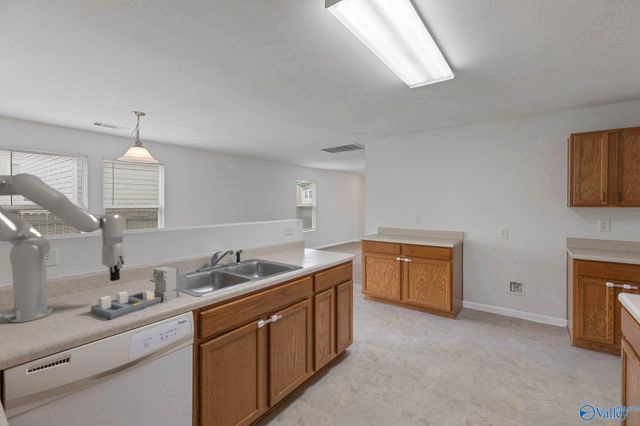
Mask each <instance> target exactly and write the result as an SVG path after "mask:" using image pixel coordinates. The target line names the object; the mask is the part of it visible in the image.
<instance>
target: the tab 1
mask: <svg viewBox="0 0 640 426" xmlns="http://www.w3.org/2000/svg"><path fill="white" fill-rule="evenodd" d="M111 301H112V297H111V296H110V295H103V296H100V297H98V298H97V304H98V307H100V308H103V309H107V308H110V307H111Z"/></svg>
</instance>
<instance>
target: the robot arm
mask: <svg viewBox="0 0 640 426" xmlns="http://www.w3.org/2000/svg"><path fill="white" fill-rule="evenodd" d="M4 196H11V197H12V196H22V197H23V198H25V199H26V200H28V201H30V202H31V203H33V204H35V205H37V206H39V207H40V208H43V209H44V210H46V211H47V212H49V213H50V214H51V215H54V216H55V217H57V218H59V219H60V220H61V221H63V222H64V223H66V224H67V225H69V226H71V227H73V228H75V229H77V231H80V232H82V233H93V232H96V231H98V230H101V240H102V246H101V247H102V248H101V264H102V266H106V268H108V272H109V277H110V278H109V280H110V281H111V282H115V281H118V280H120V279H121V277H120V276H121V275H120V271H121V269H123V265H124V264H125V253H124V252H125V251H124V247H123V244H124V239H123V236H124V235H123V223H122V222H123V221H122V216H121V215H120V214H119V213H107V214H93V213H92V214H91V213H89V212H88V211H85V210H84V209H82V208H81V207H79V206H78V205H76V204H75V203H74V202H72V201H71V200H70V199H69V198H68V196H67V195H65V194H64V193H63V192H60V191H58V190H57V189H55V188H54V187H52V186H50V185H49V184H47V183H46V182H44V181H43V180H42V179H41V178H40V177H39V176H37V175H34V174H31V173H25V172H24V173H23V172H22V173H17V174H14V175H12V174H11V175H10V174H5V175H4V174H0V197H4ZM0 242H2V243H7V242H8V243H9V244H10V245H12V247H11V249H10V252H9V260H10V266H11V273H12V289H13V290H12V291H13V292H12V294H13V297H12V298H13V307H10V310H8V311H7V312H2V313H0V320H1V319H4V320H5V319H8V322H9V323H26V322H30V321H35V320H39V319H42V318H45V317H48V316H49V315H51V314H52V313H53V311H54V310H53V308H51V307H48V290H47V289H48V288H47V287H48V285H47V267H46V265H47V264H46V261H45V260H46V258H45V257H46V255H48V254H49V253H50V252H51V251H50V250H51V244H50V242H49V241H48V240H47V238H46V237H44V235H42V233H40V232H39V231H38V230H37V229H36V228H35V227H34V226H33V224H31V223H29V221H27V220H26V219H23V218H21V217H17V216H12V215H10V213H8V212H7V211H6V210H5V209H4V208H3V207H2V205H0Z"/></svg>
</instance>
